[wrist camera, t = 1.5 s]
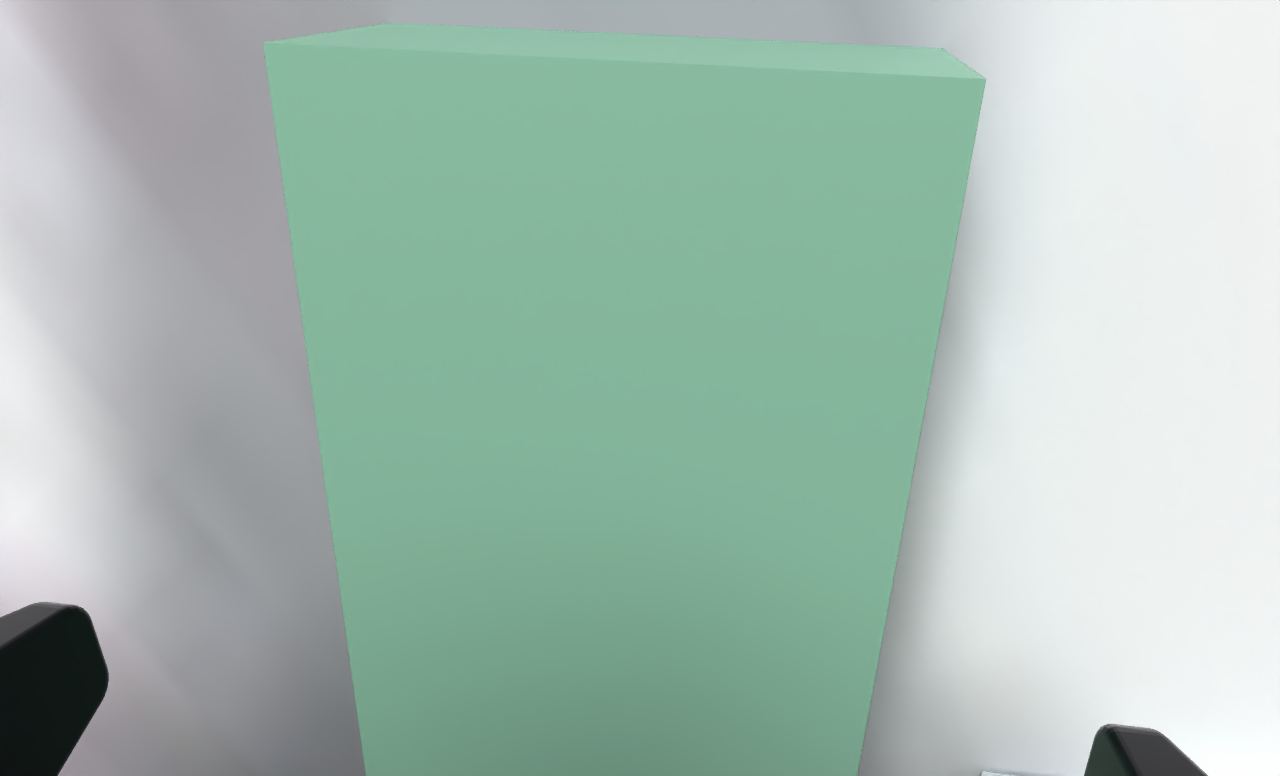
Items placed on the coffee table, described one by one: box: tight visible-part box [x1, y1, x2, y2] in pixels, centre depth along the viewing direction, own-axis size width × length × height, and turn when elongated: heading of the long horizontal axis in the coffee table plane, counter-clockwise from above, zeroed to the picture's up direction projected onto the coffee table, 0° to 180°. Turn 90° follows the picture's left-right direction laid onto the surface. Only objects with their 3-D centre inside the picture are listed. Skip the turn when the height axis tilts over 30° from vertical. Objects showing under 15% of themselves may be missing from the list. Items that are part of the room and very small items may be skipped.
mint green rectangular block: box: [263, 23, 986, 776], centre depth 11 cm, size 10×6×3 cm, turn 178°
